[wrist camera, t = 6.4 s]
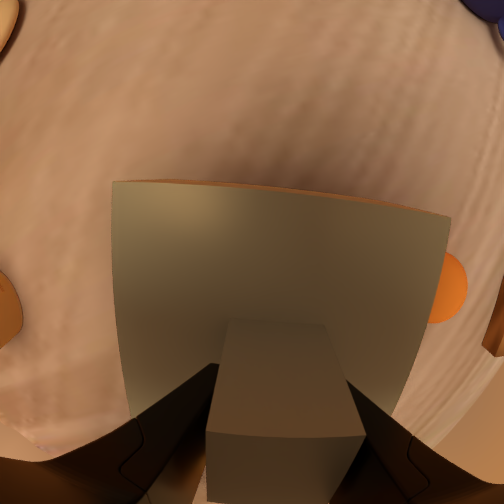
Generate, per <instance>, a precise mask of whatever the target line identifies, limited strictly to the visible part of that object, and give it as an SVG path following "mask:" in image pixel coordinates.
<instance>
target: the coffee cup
mask: <svg viewBox="0 0 504 504" xmlns="http://www.w3.org/2000/svg"><path fill="white" fill-rule="evenodd" d="M22 323H23V314H22V308H21V304H20V301H19V298H18V295H17V293H16V291H15V289H14V287H13V285H12V284H11V282H10V281H9V279H8V278H7V277H6V276H5V275H4V274H3V273H2V272H0V349H1V348H2V347H3V346H4V345H5V344H6V343H8V342H9V341H10V340H11V339H12V338H13V337H14V336H15V335H16V334H17V333H18V332H19V331H20V330H21V327H22Z"/></svg>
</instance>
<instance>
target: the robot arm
mask: <svg viewBox="0 0 504 504" xmlns="http://www.w3.org/2000/svg"><path fill="white" fill-rule="evenodd" d="M219 366H220V364H217V363H209V364H208V365H207V366H205V367H204V368H203V369H201V370H200V371H199V372H197V373H196V374H195V375H193V376H192V377H191V378H189V379H188V380H187V381H185V382H184V383H182V384H181V385H180V386H178V387H177V388H176V389H174V390H173V391H171V392H170V393H169V394H167V395H166V396H164V397H163V398H162V399H160V400H159V401H157V402H156V403H154V404H153V405H152V406H150V407H149V408H147V409H146V410H144V411H143V412H141V413H140V414H138V415H137V416H136V418H132V419H131V420H129V421H128V422H126V423H125V424H123V425H122V426H120V427H118V428H117V429H115V430H114V431H112V432H110V433H108V434H106V435H104V436H103V437H101V438H99V439H97V440H95V441H93V442H90V443H88V444H86V445H84V446H82V447H80V448H77V449H75V450H73V451H71V452H68V453H66V454H64V455H61V456H59V457H56V458H54V459H51V460H47V461H42V462H28V461H22V460H16V459H10V458H4V457H0V504H192V502H193V499H194V496H195V493H196V491H197V488H198V485H199V482H200V479H201V476H202V473H203V470H204V467H205V465H206V427H207V422H208V417H209V413H210V408H211V403H212V399H213V394H214V389H215V384H216V380H217V375H218V370H219ZM346 382H347V384H348V387H349V389H350V392H351V395H352V397H353V400H354V403H355V405H356V408H357V411H358V413H359V416H360V419H361V422H362V424H363V427H364V430H365V433H366V437H365V439H364V441H363V443H362V445H361V447H360V449H359V451H358V453H357V454H356V456H355V458H354V460H353V462H352V464H351V466H350V467H349V469H348V471H347V473H346V475H345V476H344V478H343V480H342V481H341V483H340V485H339V487H338V488H337V490H336V491H335V493H334V495H333V496H332V498H331V499H330V501H329V504H504V484H492V483H488V482H485V481H482V480H480V479H478V478H477V477H475V476H473V475H471V474H469V473H468V472H466V471H465V470H463V469H461V468H460V467H458V466H456V465H455V464H453V463H451V462H450V461H448V460H447V459H445V458H444V457H442V456H440V455H439V454H437V453H436V452H435V451H433V450H432V449H431V448H429V447H428V446H427V445H425V444H424V443H423V442H421V441H420V440H419V439H418V438H416V437H415V436H412V434H411V433H410V432H409V431H407V430H406V429H405V428H404V427H403V426H401V425H400V424H399V423H398V422H396V421H395V420H394V419H393V418H392V417H390V416H389V415H388V414H387V413H386V412H384V411H383V410H382V409H381V408H380V407H378V406H377V405H376V404H375V403H374V402H372V401H371V400H370V399H369V398H368V397H366V396H365V395H364V394H363V393H362V392H361V391H359V390H358V389H357V388H356V387H355V386H353V385H352V384H351V383H350V382H349V381H348V380H346Z"/></svg>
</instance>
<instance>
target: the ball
mask: <svg viewBox="0 0 504 504" xmlns="http://www.w3.org/2000/svg"><path fill="white" fill-rule="evenodd" d="M467 288H468V283H467V277H466V273H465V270H464V268H463V267H462V265H461V263H460V262H459V261H458V260H457V259H456V258H455V257H454V256H452V255H451V254H449V253H446V252H445V257H444V262H443V267H442V271H441V275H440V280H439V284H438V288H437V291H436V295H435V299H434V303H433V306H432V310H431V313H430V316H429V320H428V323H440V322H443V321H446V320H448V319H450V318H451V317H453V316H454V315H455V314H456V313H457V312H458V311H459V310H460V308H461V307H462V305H463V303H464V301H465V298H466V295H467Z"/></svg>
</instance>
